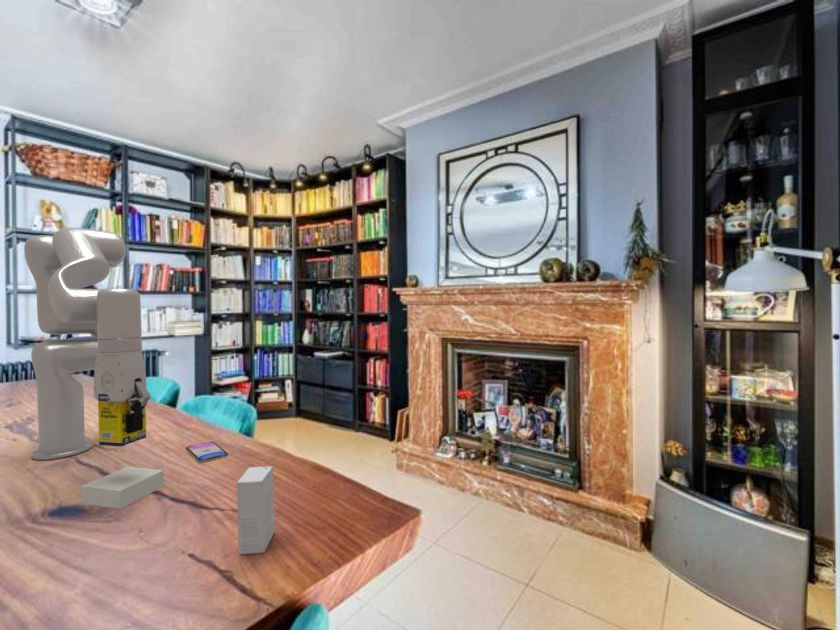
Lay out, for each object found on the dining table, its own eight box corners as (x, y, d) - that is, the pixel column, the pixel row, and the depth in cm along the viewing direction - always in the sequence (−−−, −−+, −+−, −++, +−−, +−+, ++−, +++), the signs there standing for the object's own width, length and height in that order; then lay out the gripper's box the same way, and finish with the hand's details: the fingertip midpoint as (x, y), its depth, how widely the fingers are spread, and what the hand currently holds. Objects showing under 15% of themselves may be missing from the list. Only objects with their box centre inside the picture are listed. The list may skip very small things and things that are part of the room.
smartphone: (213, 443, 116) (213, 440, 116) (230, 457, 106) (230, 453, 105) (184, 450, 111) (184, 446, 111) (199, 465, 100) (199, 461, 100)
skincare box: (250, 533, 69) (249, 466, 69) (275, 532, 69) (273, 465, 69) (237, 555, 63) (235, 482, 63) (264, 553, 63) (263, 480, 63)
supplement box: (122, 447, 80) (120, 394, 80) (98, 445, 81) (96, 393, 81) (147, 437, 86) (146, 388, 86) (125, 436, 87) (123, 387, 87)
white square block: (81, 505, 80) (81, 486, 80) (128, 483, 90) (127, 466, 90) (120, 510, 78) (119, 491, 78) (163, 487, 88) (163, 470, 88)
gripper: (73, 347, 83) (76, 432, 83) (130, 349, 77) (133, 439, 77) (111, 344, 90) (114, 422, 90) (166, 345, 84) (168, 428, 84)
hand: (123, 429), depth 84 cm, fingers closed on supplement box, 6 cm apart
